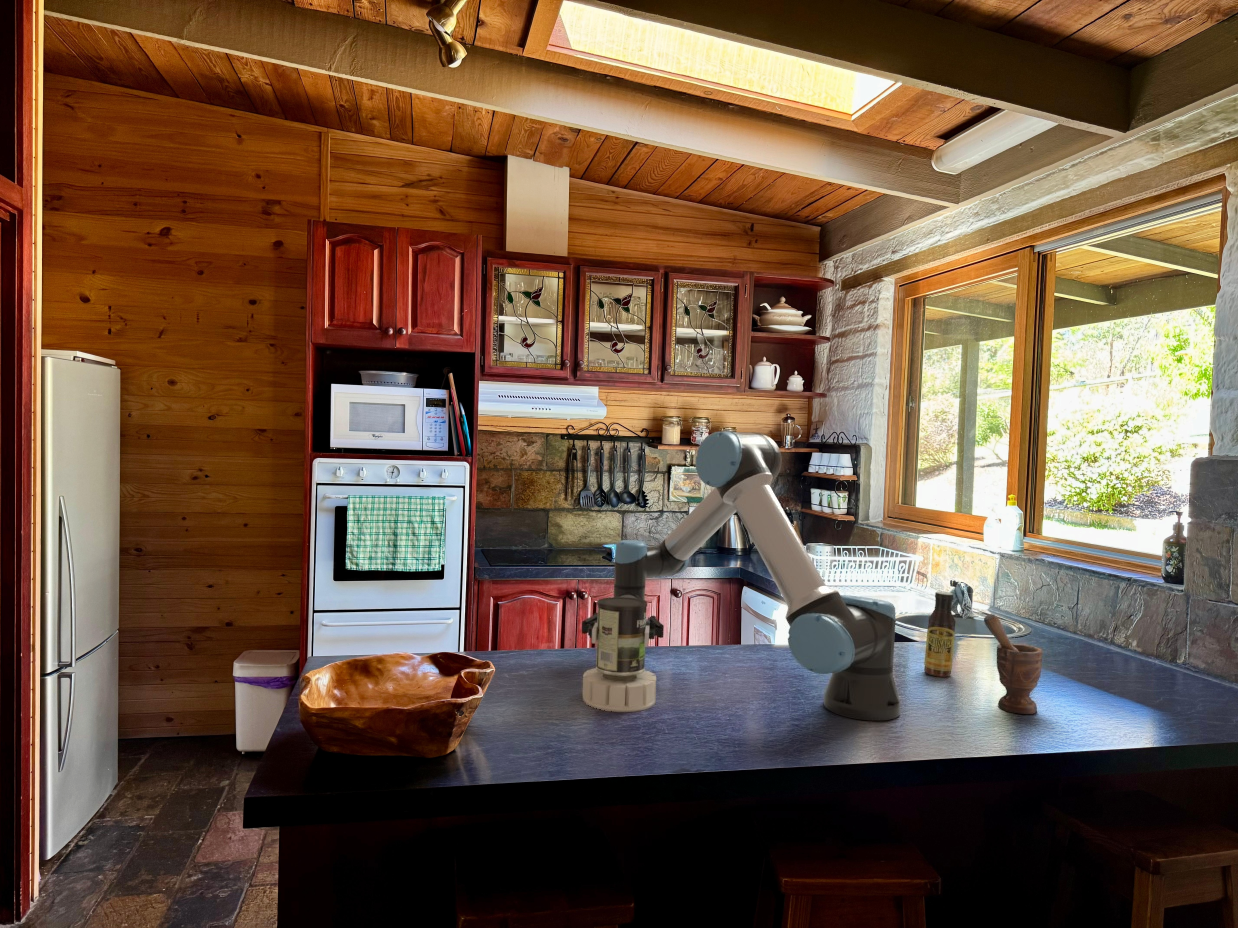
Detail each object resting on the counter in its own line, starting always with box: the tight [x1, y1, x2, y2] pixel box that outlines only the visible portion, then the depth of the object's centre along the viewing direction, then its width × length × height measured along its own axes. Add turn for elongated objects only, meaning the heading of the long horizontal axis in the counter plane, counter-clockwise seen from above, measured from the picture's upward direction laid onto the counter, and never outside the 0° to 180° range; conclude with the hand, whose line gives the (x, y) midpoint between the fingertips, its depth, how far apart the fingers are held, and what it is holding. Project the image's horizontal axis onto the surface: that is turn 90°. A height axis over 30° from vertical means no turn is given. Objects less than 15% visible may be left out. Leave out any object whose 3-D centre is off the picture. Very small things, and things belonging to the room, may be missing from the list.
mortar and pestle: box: [983, 613, 1043, 715], centre depth 172 cm, size 12×9×20 cm
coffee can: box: [595, 596, 648, 676], centre depth 169 cm, size 10×10×14 cm
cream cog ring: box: [581, 667, 657, 713], centre depth 169 cm, size 15×15×5 cm
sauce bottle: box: [923, 591, 956, 678], centre depth 197 cm, size 6×6×20 cm
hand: (620, 637), depth 165 cm, fingers closed on coffee can, 10 cm apart
